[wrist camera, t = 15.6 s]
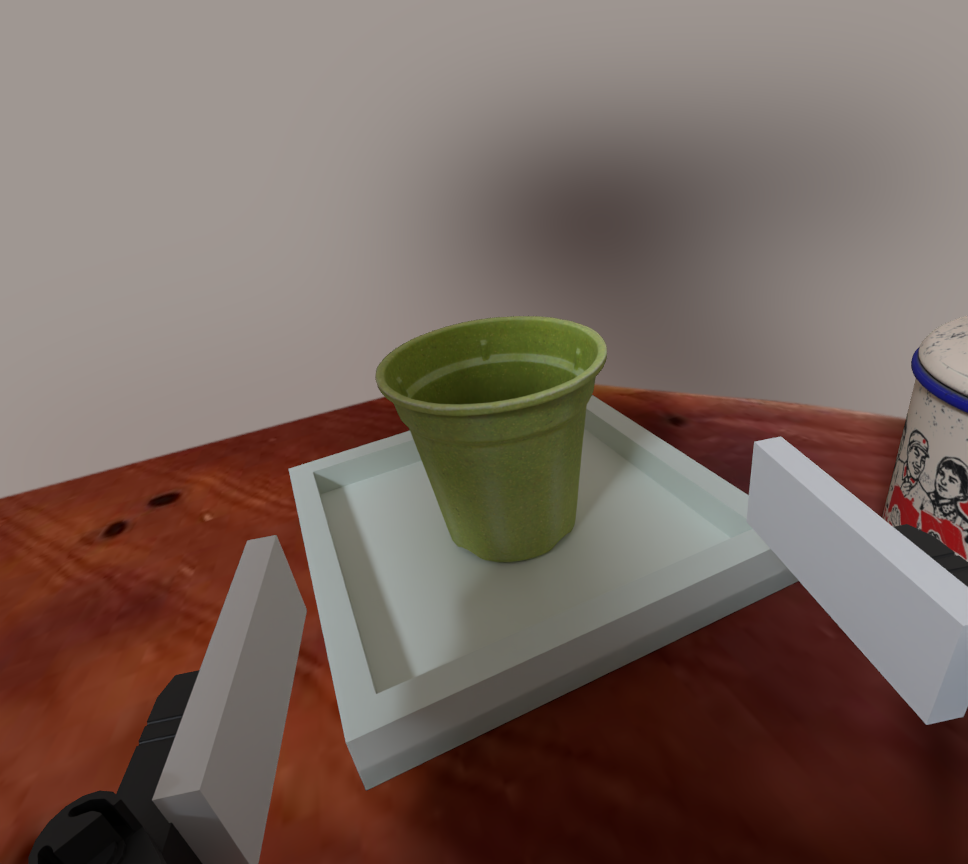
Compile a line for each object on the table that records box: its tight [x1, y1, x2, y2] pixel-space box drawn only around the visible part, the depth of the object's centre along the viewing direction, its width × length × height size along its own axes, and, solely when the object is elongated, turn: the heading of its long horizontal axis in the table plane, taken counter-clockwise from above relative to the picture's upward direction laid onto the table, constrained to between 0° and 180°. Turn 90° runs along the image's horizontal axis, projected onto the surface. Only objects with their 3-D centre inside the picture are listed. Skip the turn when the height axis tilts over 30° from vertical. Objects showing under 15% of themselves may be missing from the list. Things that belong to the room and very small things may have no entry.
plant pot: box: [376, 316, 607, 562], centre depth 25 cm, size 9×9×9 cm
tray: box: [289, 395, 798, 790], centre depth 28 cm, size 18×18×2 cm
